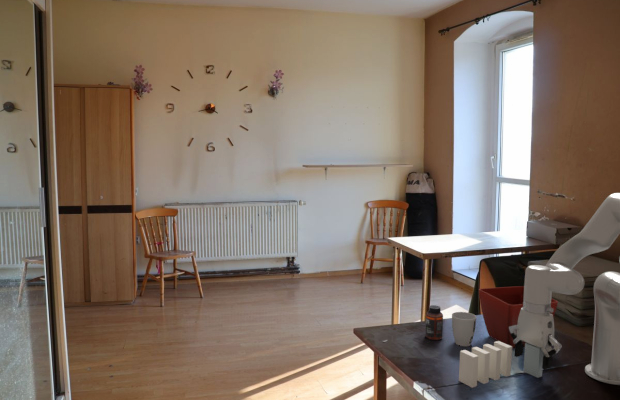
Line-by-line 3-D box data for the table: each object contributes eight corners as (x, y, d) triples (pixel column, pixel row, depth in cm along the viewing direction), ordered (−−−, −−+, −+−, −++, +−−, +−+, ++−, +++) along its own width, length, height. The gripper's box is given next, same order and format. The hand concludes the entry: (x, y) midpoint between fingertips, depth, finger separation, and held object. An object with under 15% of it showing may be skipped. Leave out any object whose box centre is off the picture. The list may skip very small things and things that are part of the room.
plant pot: (556, 349, 173) (559, 301, 171) (507, 354, 168) (510, 304, 166) (520, 329, 191) (523, 285, 189) (475, 333, 187) (477, 288, 185)
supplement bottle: (444, 336, 183) (445, 306, 182) (439, 342, 178) (440, 310, 177) (428, 333, 186) (429, 303, 185) (422, 338, 181) (424, 307, 180)
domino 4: (510, 375, 153) (512, 346, 152) (506, 376, 152) (507, 347, 151) (497, 368, 157) (498, 340, 156) (492, 370, 156) (494, 342, 155)
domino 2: (488, 382, 148) (490, 352, 147) (483, 383, 147) (485, 354, 146) (475, 375, 152) (476, 346, 151) (470, 377, 151) (471, 347, 150)
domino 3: (499, 378, 150) (501, 349, 149) (495, 380, 149) (496, 350, 148) (486, 372, 155) (487, 343, 154) (481, 373, 154) (483, 344, 153)
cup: (476, 349, 172) (477, 320, 171) (451, 347, 174) (452, 318, 173) (473, 340, 180) (475, 312, 179) (449, 338, 182) (451, 311, 180)
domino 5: (542, 376, 152) (543, 347, 151) (537, 377, 151) (539, 348, 150) (527, 369, 157) (529, 341, 156) (523, 371, 156) (525, 342, 155)
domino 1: (476, 386, 146) (478, 355, 145) (471, 387, 145) (473, 357, 144) (463, 379, 150) (465, 349, 149) (458, 380, 149) (460, 351, 148)
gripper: (571, 314, 146) (566, 371, 148) (520, 297, 161) (516, 349, 163) (555, 317, 142) (550, 376, 144) (504, 300, 157) (500, 353, 159)
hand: (532, 362), depth 154 cm, fingers open, 9 cm apart
